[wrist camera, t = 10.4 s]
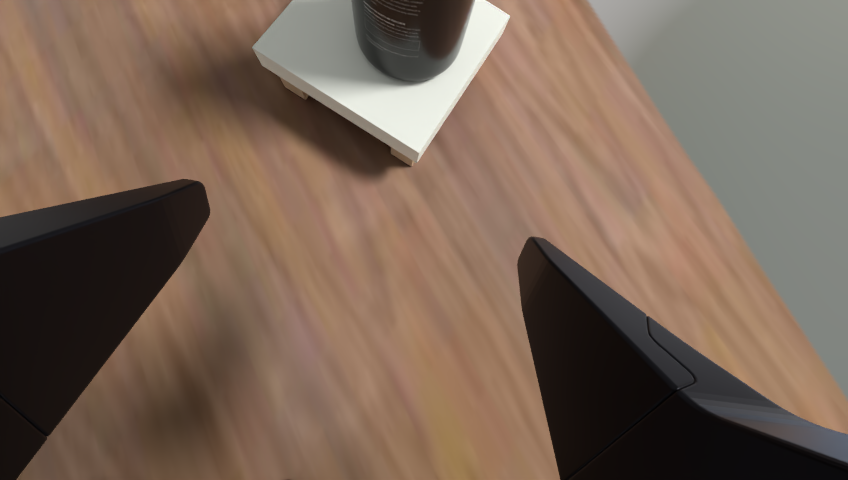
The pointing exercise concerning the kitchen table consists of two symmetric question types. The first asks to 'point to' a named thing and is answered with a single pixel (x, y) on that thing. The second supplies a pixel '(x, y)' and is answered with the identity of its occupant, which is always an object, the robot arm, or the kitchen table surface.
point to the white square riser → (371, 72)
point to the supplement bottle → (411, 35)
